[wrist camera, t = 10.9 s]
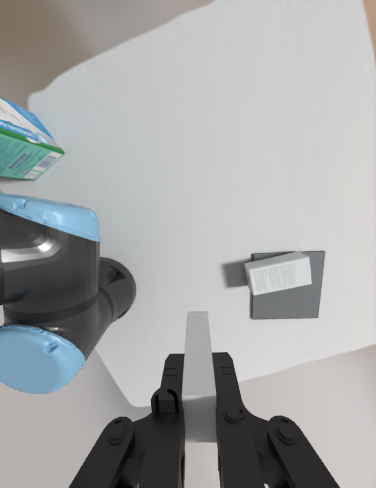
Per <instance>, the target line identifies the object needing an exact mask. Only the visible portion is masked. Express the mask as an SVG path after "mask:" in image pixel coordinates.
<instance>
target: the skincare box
mask: <svg viewBox="0 0 376 488" xmlns="http://www.w3.org/2000/svg"><path fill="white" fill-rule="evenodd" d="M244 266H245V271H246V276H247V281H248V287H249V289H250V290H251V292H252V294H253V295H259V294H264V293H269V292H274V291H279V290H284V289H289V288H294V287H299V286H304V285H310V284H312V281H311V267H310V261H309V257H308V256H306V255H304V254H302V253H301V252H294V253H289V254H285V255H280V256H276V257H271V258H266V259H262V260H257V261H253V262H248V263H244Z"/></svg>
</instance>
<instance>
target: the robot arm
mask: <svg viewBox="0 0 376 488" xmlns="http://www.w3.org/2000/svg"><path fill="white" fill-rule="evenodd" d="M100 242H101V238H100V237H99V220H98V217H97V215H96V214H95V212H94V211H92V210H91V209H88V208H85V207H81V206H77V205H72V204H67V203H62V202H56V201H51V200H45V199H39V198H33V197H27V196H20V195H12V194H5V193H0V305H3V310H4V318H5V321H4V324H3V326H0V382H2V383H4V384H5V385H7V386H9V387H10V388H13V389H15V390H18V391H21V392H25V393H30V394H47V393H51V392H54V391H57V390H59V389H61V388H62V387H64V386H66V385H67V384H68V383H69V382H70V381H71V380H72V379H73V378H74V376H75V375H76V374H77V373H78V372H79V370H81V369H82V367H83V366H84V364H85V361H86V360H87V358H88V356H89V355H90V354H91V352H92V350H93V349H94V347H95V346H96V344H97V343H98V341H99V340H100V338H101V337H102V335H103V334H104V332H105V331H106V329H107V328H108V326H109V325H110V324H111V323H113V322H114V321H116V320H117V319H119V318H121V317H122V316H123V315H125V314H126V313H127V311H128V310H129V309H130V307H131V306H132V304H133V302H134V300H135V296H136V285H135V281H134V279H133V277H132V275H131V273H130V272H129V271H128V270H127V268H126V267H124V266H123V265H122V264H120V263H119V262H117V261H115V260H112V259H109V258H102V257H100ZM151 407H152V413H151V414H149V415H148V416H147V417H145V418H143V419H140V420H137V421H134V422H132V421H131V419H129V418H127V417H118V418H116V419H114V420H112V421H111V422H110V423H109V424H108V425H107V426H106V427H105V429H104V430H103V432H102V433H101V435H100V437H99V438H98V440H97V442H96V443H95V445H94V447H93V448H92V450H91V452H90V453H89V455H88V457H87V458H86V460H85V461H84V463H83V465H82V466H81V468H80V470H79V471H78V473H77V475H76V476H75V478H74V480H73V481H72V483H71V485H70V486H69V488H137V487H138V484H139V487H138V488H184V479H185V442H217V446H218V471H219V476H220V487H221V488H265V486H264V483H265V484H267V485H268V487H269V488H340V487H339V486H338V484H337V483H336V481H335V480H334V478H333V477H332V476H331V474H330V472H329V471H328V469H327V468H326V466H325V465H324V463H323V462H322V460H321V459H320V458H319V456H318V455H317V453H316V452H315V450H314V449H313V447H312V446H311V444H310V443H309V441H308V440H307V438H306V437H305V436H304V434H303V432H302V431H301V429H300V428H299V427H298V426H297V425H296V424H295V422H293V421H292V420H290V419H289V418H287V417H284V416H274V417H272V418H271V419H270V420H269V421H267V420H264V419H261V418H259V417H256V416H254V415H253V414H251V413H250V412H249V411H248V410H247V409H246V408H245V406H244V404H243V402H242V399H241V394H240V390H239V386H238V381H237V377H236V373H235V368H234V364H233V360H232V358H231V357H230V355H229V354H228V353H227V352H219V353H212V351H211V341H210V332H209V323H208V313H207V311H198V312H187V326H186V341H185V354H169V356H168V357H167V359H166V360H165V365H164V370H163V376H162V381H161V387H160V388H159V389H158V390H157V391H156V392H155V393H154V394H153V396H152V398H151Z"/></svg>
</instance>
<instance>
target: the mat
mask: <svg viewBox="0 0 376 488" xmlns="http://www.w3.org/2000/svg"><path fill="white" fill-rule="evenodd" d="M289 253H294V252H281V253H255V254H254V258H253V261H257V260H262V259H266V258H271V257H276V256H280V255H285V254H289ZM301 253H302V254H304V255H306V256H308V257H309V261H310V267H311V281H312V284H310V285H304V286H299V287H294V288H289V289H284V290H279V291H274V292H269V293H264V294H259V295H253V299H252V319H253V320H256V319H298V318H318V315H319V305H320V296H321V287H322V277H323V268H324V259H325V251H307V252H301Z"/></svg>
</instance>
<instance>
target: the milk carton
mask: <svg viewBox="0 0 376 488" xmlns="http://www.w3.org/2000/svg"><path fill="white" fill-rule="evenodd" d="M64 154H65V153H64V152H63V150H62V149H61V148H60V147H59V145H58V144H57V143H56V142H55V140H54V139H53V138H52V137H51V135H50V134H49V133H48V132H47V130H46V129H45V128H44V126H43V125H42V124H41V123H40V121H39V120H38V119H37V118H36V116H35V115H34V114H33V113H31V112H29V111H27V110H25V109H23V108H21V107H19V106H17V105H15V104H13V103H12V102H10V101H8V100H6V99H4V98H2V97H0V177H7V178H17V179H26V180H36V179H37V178H38V177H39V176H40V175H41V174H42V173H43V172H45V171H46V170H47V169H48V168H49V167H50V166H51V165H52V164H53V163H55V162H56V161H57V160H58V159H59V158H60V157H61V156H62V155H64Z"/></svg>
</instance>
